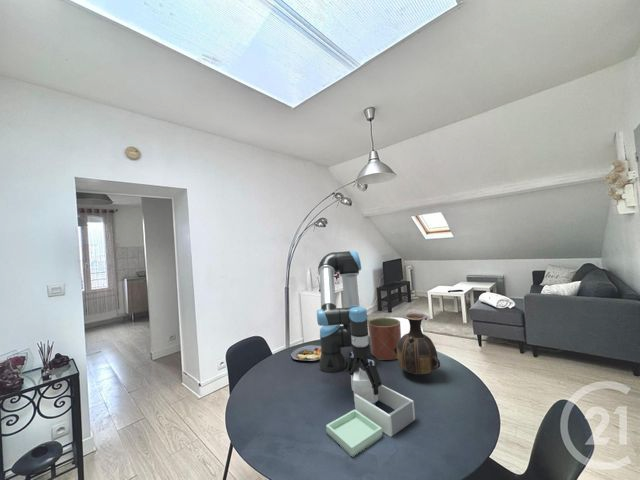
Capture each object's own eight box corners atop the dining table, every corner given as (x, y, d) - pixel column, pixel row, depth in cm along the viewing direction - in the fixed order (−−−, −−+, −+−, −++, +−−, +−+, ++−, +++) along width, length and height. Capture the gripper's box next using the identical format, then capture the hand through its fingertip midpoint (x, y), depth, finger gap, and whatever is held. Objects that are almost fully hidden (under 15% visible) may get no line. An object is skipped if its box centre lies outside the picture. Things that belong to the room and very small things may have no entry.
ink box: (375, 409, 106) (372, 376, 106) (354, 408, 108) (352, 376, 108) (375, 397, 114) (372, 366, 115) (355, 396, 116) (353, 366, 116)
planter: (407, 360, 148) (404, 325, 148) (373, 363, 148) (371, 327, 149) (397, 347, 167) (395, 316, 167) (368, 349, 167) (365, 318, 168)
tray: (326, 433, 94) (326, 425, 95) (355, 416, 103) (354, 409, 103) (352, 457, 83) (351, 448, 83) (382, 436, 91) (381, 427, 91)
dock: (355, 412, 105) (354, 394, 105) (379, 398, 113) (378, 382, 113) (390, 437, 90) (389, 416, 91) (415, 419, 98) (413, 400, 99)
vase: (388, 370, 138) (384, 313, 139) (417, 361, 145) (412, 308, 146) (420, 391, 117) (414, 324, 118) (451, 379, 124) (446, 316, 125)
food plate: (335, 348, 172) (334, 343, 173) (324, 364, 150) (323, 358, 151) (300, 347, 181) (300, 342, 181) (285, 363, 159) (285, 357, 159)
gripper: (336, 339, 119) (339, 387, 119) (375, 355, 100) (379, 412, 99) (348, 335, 124) (352, 381, 123) (388, 349, 104) (392, 404, 104)
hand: (364, 395), depth 111 cm, fingers closed on ink box, 11 cm apart
